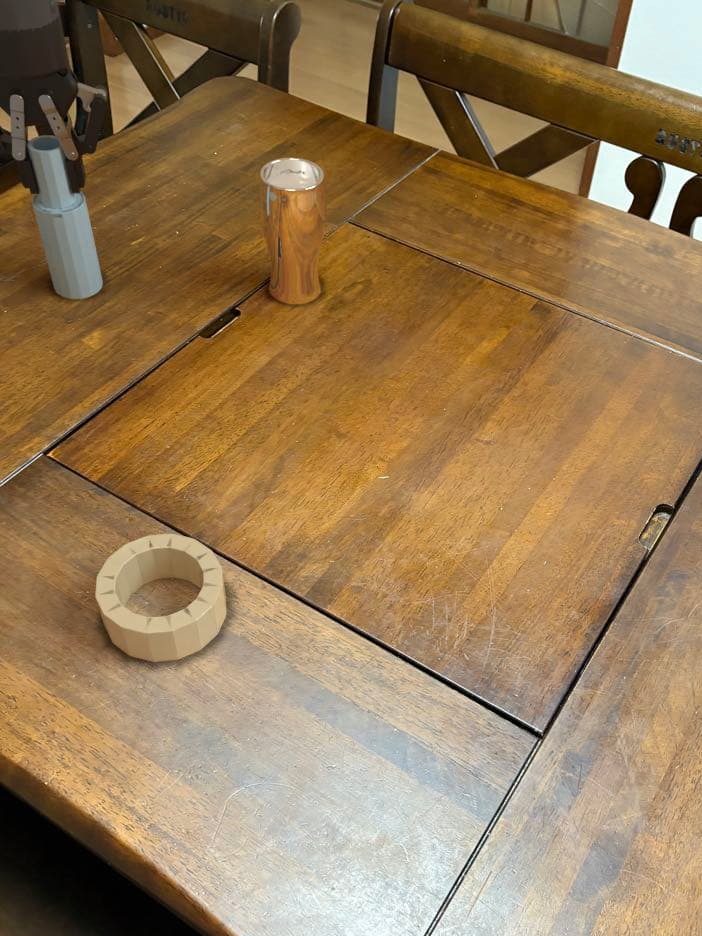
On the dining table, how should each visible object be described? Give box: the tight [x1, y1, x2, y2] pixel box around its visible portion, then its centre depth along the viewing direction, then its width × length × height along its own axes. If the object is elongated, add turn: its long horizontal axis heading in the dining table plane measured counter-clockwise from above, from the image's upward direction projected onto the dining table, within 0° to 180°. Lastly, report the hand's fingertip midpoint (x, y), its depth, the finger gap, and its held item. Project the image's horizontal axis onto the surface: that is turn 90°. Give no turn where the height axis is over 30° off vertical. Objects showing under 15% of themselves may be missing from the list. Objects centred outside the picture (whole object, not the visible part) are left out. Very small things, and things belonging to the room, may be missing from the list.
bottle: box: [27, 134, 104, 300], centre depth 97 cm, size 5×5×17 cm
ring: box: [94, 533, 227, 663], centre depth 75 cm, size 10×10×5 cm
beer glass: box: [259, 157, 327, 305], centre depth 100 cm, size 7×7×15 cm
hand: (56, 189), depth 94 cm, fingers closed on bottle, 3 cm apart
